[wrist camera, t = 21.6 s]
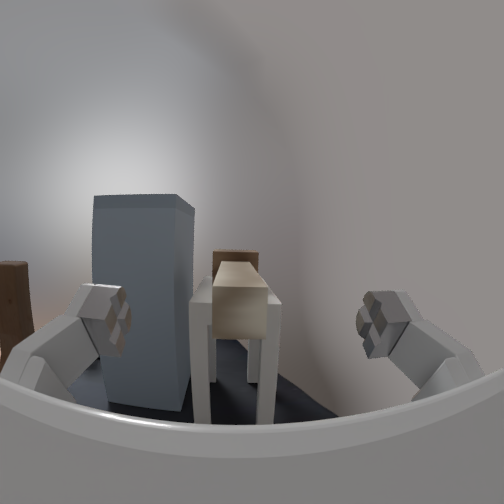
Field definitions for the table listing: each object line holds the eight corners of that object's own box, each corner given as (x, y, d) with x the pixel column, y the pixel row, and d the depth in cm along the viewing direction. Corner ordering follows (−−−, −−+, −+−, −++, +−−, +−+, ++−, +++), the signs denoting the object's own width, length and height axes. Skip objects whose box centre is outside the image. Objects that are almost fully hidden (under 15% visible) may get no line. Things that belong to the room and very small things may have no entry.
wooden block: (27, 413, 21) (-3, 268, 20) (1, 407, 19) (-29, 267, 18) (46, 382, 29) (28, 261, 28) (23, 378, 28) (4, 260, 27)
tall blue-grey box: (108, 401, 29) (94, 195, 28) (140, 356, 45) (136, 208, 44) (180, 411, 30) (176, 194, 29) (194, 360, 46) (194, 208, 45)
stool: (196, 442, 24) (188, 302, 23) (205, 377, 40) (205, 276, 39) (271, 443, 25) (282, 304, 24) (257, 378, 41) (261, 277, 40)
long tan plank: (194, 337, 15) (193, 266, 15) (214, 280, 36) (215, 249, 36) (283, 339, 15) (287, 269, 15) (253, 281, 36) (254, 250, 36)
